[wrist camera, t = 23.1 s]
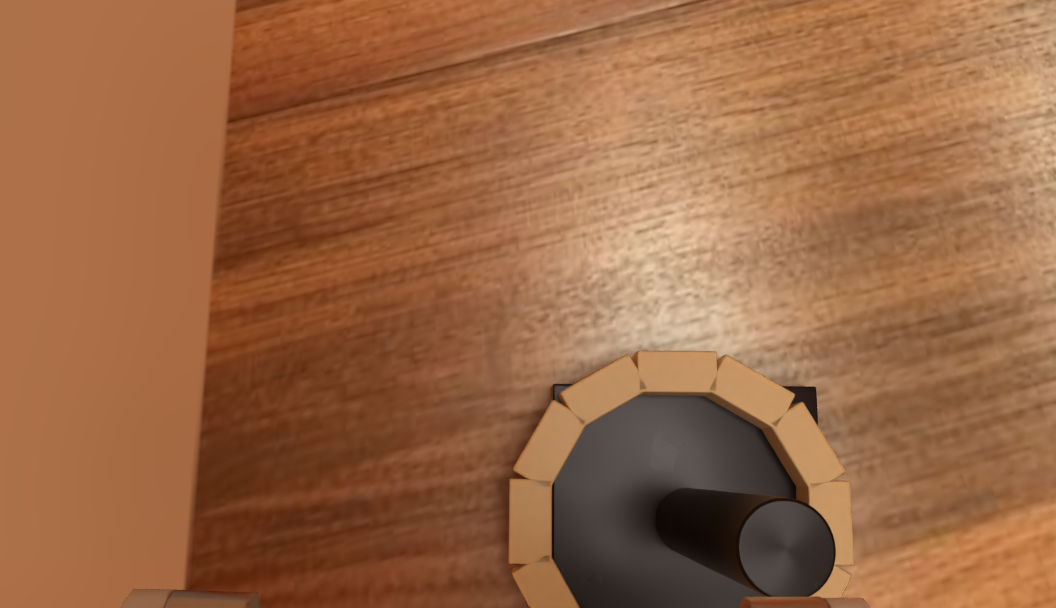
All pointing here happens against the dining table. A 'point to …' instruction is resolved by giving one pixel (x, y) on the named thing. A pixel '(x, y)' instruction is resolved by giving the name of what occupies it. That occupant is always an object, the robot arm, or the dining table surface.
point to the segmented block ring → (668, 377)
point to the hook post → (683, 510)
